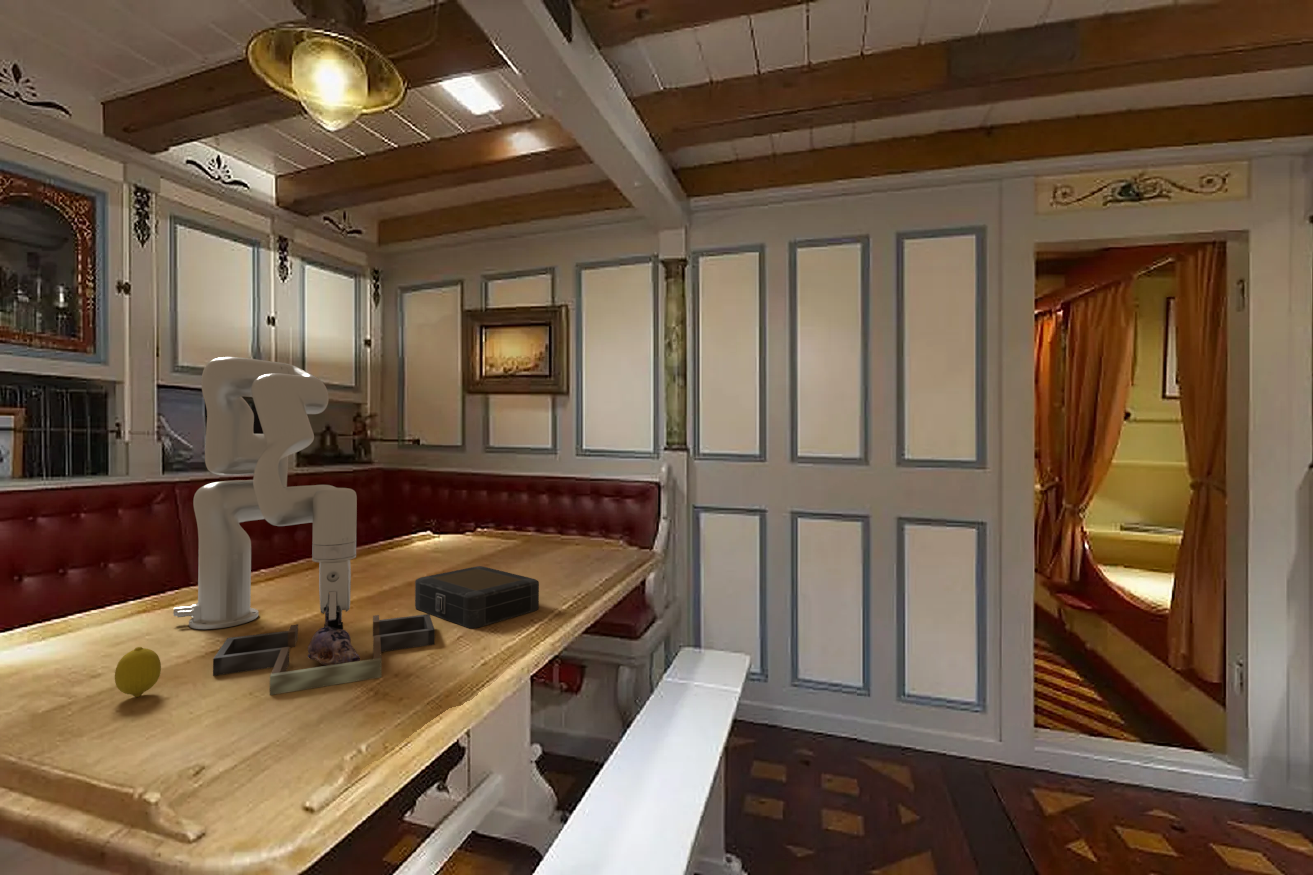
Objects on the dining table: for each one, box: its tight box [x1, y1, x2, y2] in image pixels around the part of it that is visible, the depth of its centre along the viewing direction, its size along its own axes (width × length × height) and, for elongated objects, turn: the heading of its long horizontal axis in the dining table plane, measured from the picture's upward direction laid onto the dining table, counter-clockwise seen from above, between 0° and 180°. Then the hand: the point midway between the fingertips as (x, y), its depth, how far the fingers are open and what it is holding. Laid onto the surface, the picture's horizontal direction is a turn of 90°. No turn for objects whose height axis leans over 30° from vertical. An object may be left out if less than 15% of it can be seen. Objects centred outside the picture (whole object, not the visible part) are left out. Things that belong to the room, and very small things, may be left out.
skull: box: [307, 626, 361, 666], centre depth 106 cm, size 12×8×6 cm, turn 49°
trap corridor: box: [212, 613, 436, 696], centre depth 110 cm, size 36×28×3 cm
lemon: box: [114, 646, 162, 698], centre depth 92 cm, size 6×6×8 cm
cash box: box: [414, 565, 540, 630], centre depth 141 cm, size 25×20×8 cm
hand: (333, 644), depth 113 cm, fingers closed
